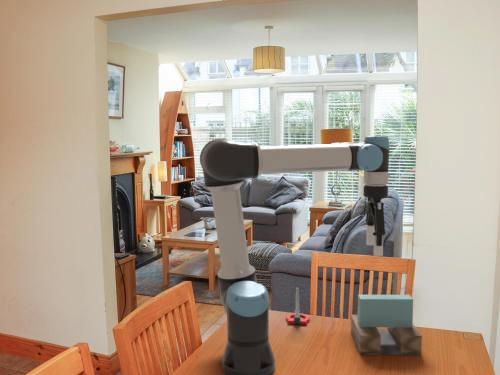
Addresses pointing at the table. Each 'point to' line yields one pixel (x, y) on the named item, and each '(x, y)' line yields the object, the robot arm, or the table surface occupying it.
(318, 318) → the table surface
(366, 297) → the teal beam
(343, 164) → the robot arm
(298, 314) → the tow hook
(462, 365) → the table surface
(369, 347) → the grey grooved block
